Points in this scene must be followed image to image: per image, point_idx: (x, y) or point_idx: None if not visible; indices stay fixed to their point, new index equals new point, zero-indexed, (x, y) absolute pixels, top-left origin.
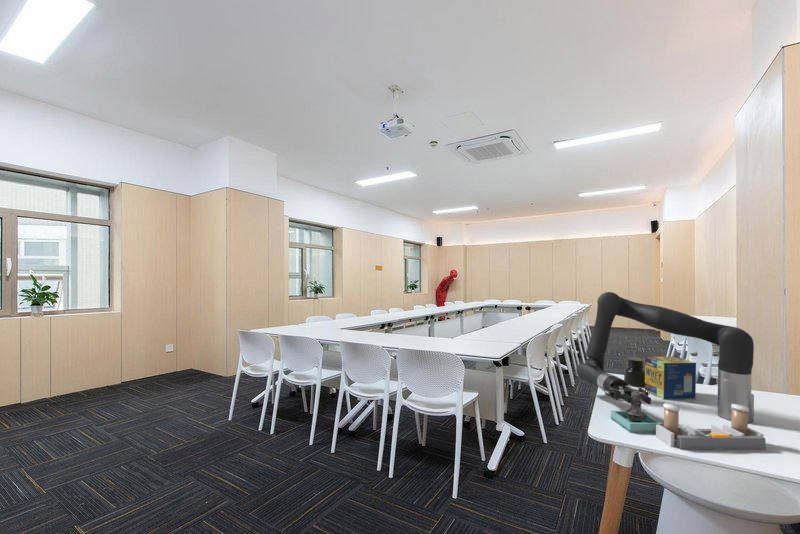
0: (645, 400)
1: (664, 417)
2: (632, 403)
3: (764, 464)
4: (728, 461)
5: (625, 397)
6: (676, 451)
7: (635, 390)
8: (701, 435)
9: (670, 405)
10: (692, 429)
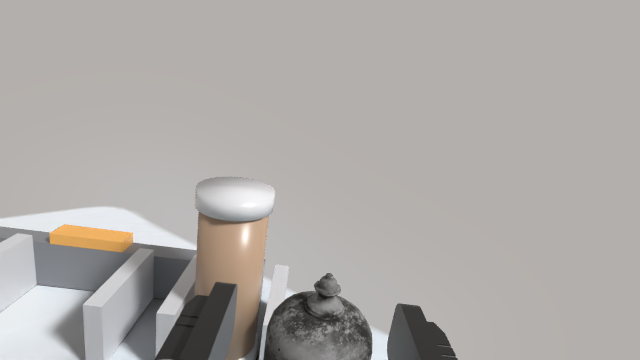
0: (222, 352)
1: (261, 261)
2: (388, 345)
3: (98, 227)
4: (184, 245)
5: (452, 352)
6: (291, 291)
7: (334, 293)
8: (151, 259)
9: (238, 189)
10: (128, 282)
